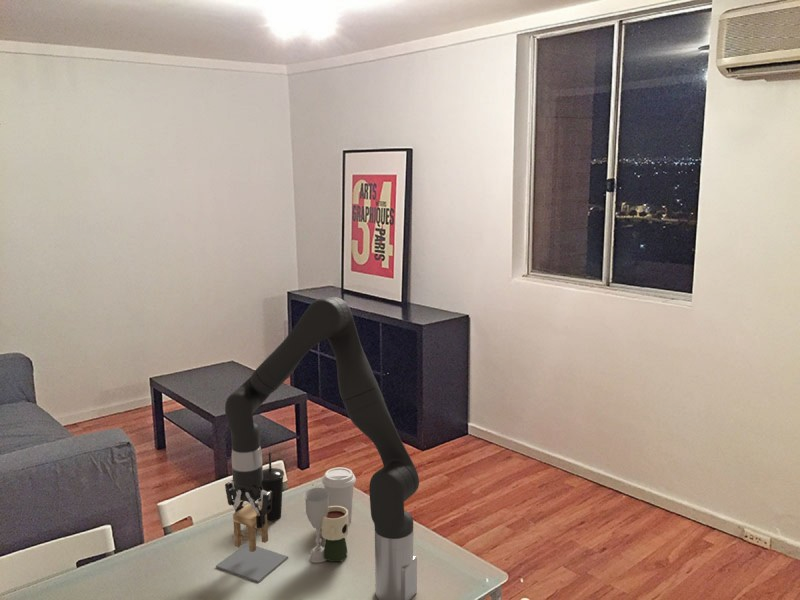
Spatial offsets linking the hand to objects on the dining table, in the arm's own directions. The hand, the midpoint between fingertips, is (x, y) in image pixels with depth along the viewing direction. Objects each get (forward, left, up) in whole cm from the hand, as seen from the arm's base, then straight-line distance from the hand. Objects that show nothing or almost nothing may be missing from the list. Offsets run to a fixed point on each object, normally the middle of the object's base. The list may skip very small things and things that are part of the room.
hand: (250, 523), depth 177 cm
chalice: (-14, -10, -11) cm, 21 cm away
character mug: (-18, -12, -11) cm, 24 cm away
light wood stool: (0, 0, -6) cm, 6 cm away
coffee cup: (-9, -28, -11) cm, 31 cm away
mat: (0, 0, -11) cm, 11 cm away
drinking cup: (+10, -21, -11) cm, 26 cm away
